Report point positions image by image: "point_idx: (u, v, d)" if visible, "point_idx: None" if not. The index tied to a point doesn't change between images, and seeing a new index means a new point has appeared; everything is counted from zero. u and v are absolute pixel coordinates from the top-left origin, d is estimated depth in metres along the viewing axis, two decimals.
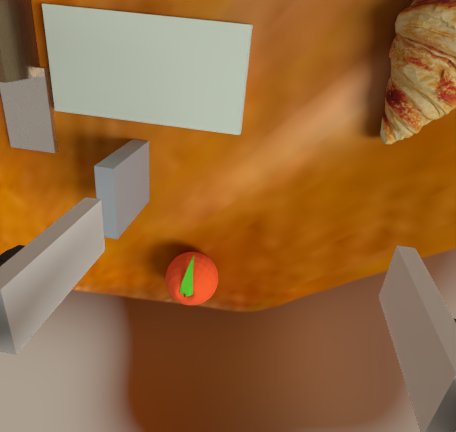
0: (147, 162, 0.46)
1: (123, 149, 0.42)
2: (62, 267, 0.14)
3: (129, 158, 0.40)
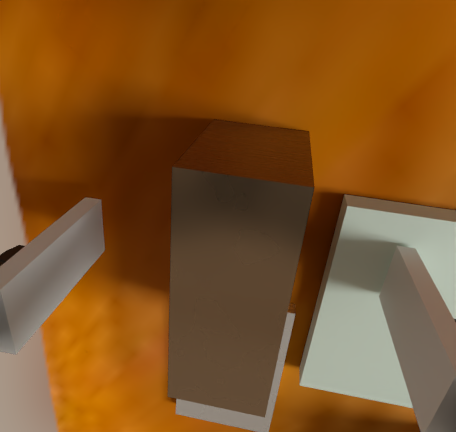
0: None
1: None
2: (62, 267, 0.14)
3: None
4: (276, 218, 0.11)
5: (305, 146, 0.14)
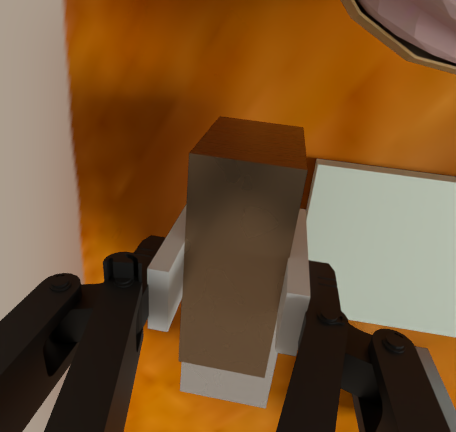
0: None
1: None
2: None
3: None
4: (276, 196, 0.13)
5: (300, 138, 0.16)
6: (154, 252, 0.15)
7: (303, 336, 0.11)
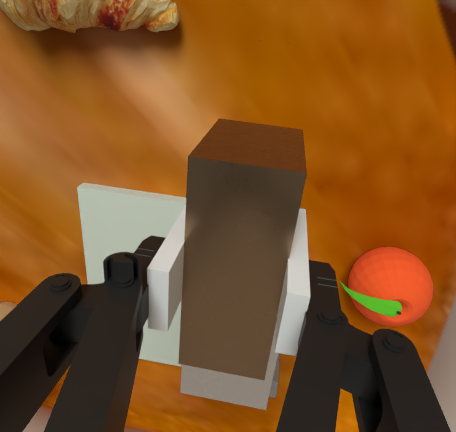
0: None
1: None
2: None
3: None
4: (275, 199, 0.13)
5: (299, 141, 0.16)
6: (154, 252, 0.15)
7: (303, 336, 0.11)
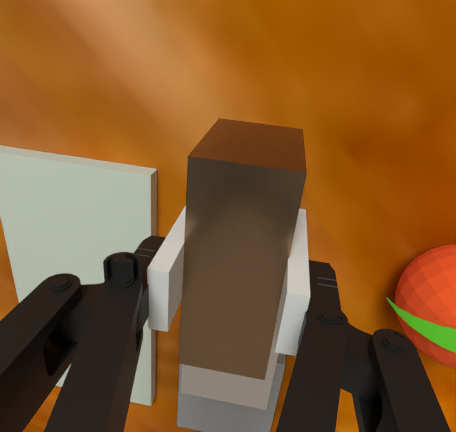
0: None
1: None
2: None
3: (181, 397, 0.31)
4: (275, 199, 0.13)
5: (299, 141, 0.16)
6: (154, 252, 0.15)
7: (303, 336, 0.11)
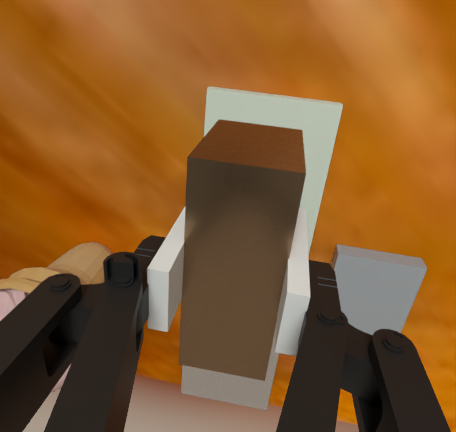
0: (363, 264, 0.35)
1: None
2: None
3: None
4: (274, 200, 0.13)
5: (298, 141, 0.16)
6: (154, 252, 0.15)
7: (303, 336, 0.11)
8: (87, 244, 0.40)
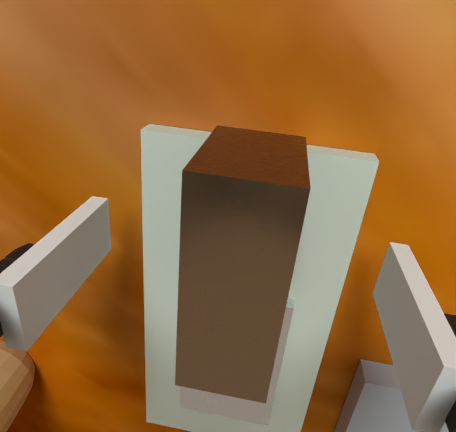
0: None
1: (344, 407, 0.25)
2: (70, 265, 0.14)
3: None
4: (276, 216, 0.12)
5: (302, 151, 0.15)
6: None
7: None
8: None
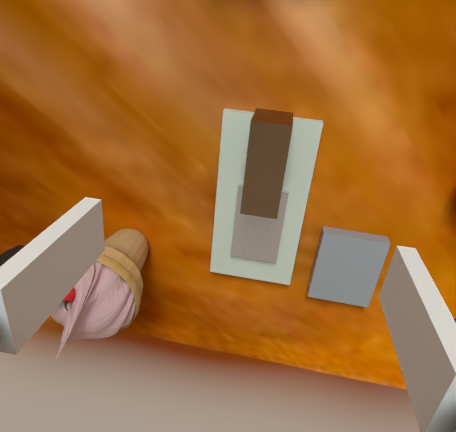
0: (342, 241, 0.46)
1: (315, 255, 0.49)
2: (62, 267, 0.14)
3: (315, 273, 0.49)
4: (281, 136, 0.36)
5: (291, 117, 0.39)
6: None
7: None
8: (126, 229, 0.51)
